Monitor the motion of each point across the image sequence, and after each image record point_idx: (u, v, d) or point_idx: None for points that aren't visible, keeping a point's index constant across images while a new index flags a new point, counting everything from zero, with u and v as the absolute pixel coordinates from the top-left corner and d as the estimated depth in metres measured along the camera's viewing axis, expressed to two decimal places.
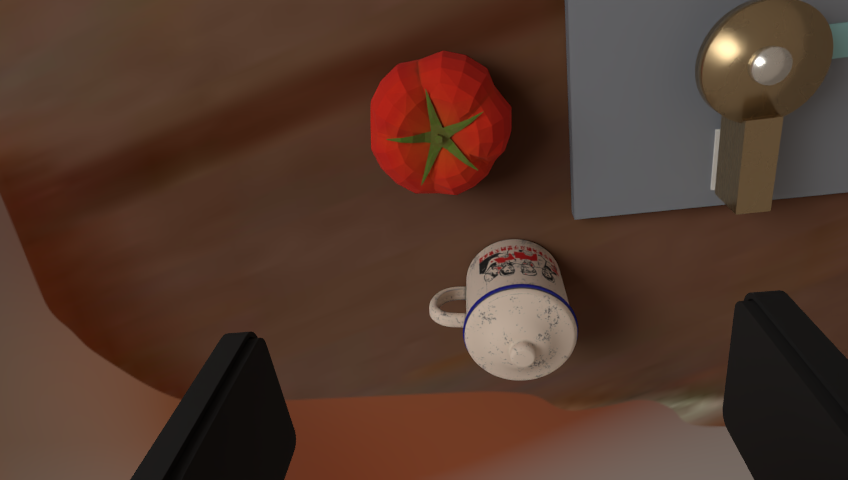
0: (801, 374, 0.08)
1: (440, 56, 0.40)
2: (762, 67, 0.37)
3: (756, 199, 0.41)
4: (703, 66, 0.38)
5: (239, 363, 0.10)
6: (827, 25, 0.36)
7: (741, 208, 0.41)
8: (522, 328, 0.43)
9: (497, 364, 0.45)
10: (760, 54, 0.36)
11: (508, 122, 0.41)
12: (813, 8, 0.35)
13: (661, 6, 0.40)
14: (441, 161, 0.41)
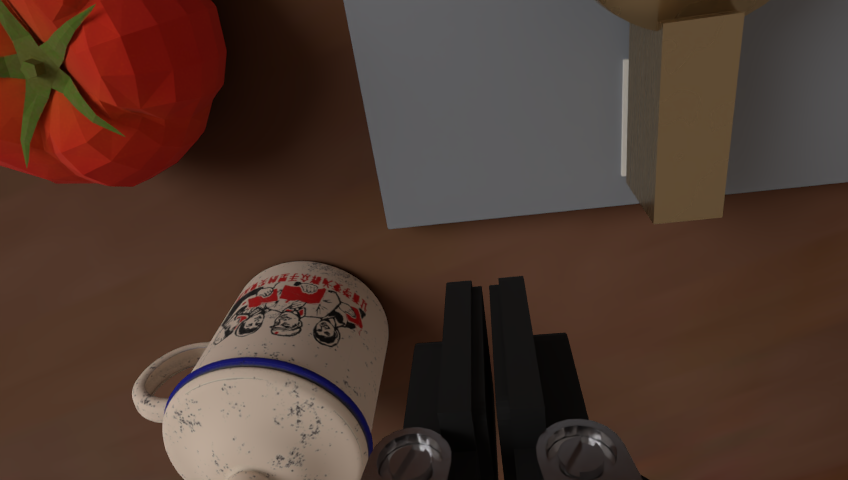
0: (496, 343, 0.10)
1: None
2: None
3: (693, 193, 0.20)
4: None
5: (476, 307, 0.11)
6: None
7: (663, 213, 0.21)
8: (243, 446, 0.22)
9: None
10: None
11: (185, 36, 0.20)
12: None
13: None
14: (54, 117, 0.20)
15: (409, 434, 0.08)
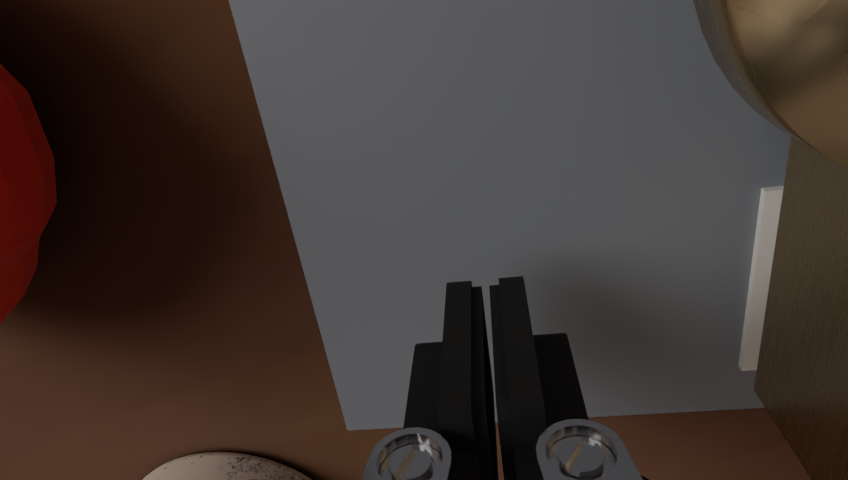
0: (496, 343, 0.10)
1: None
2: None
3: None
4: None
5: (476, 307, 0.11)
6: None
7: None
8: None
9: None
10: None
11: None
12: None
13: None
14: None
15: (409, 434, 0.08)
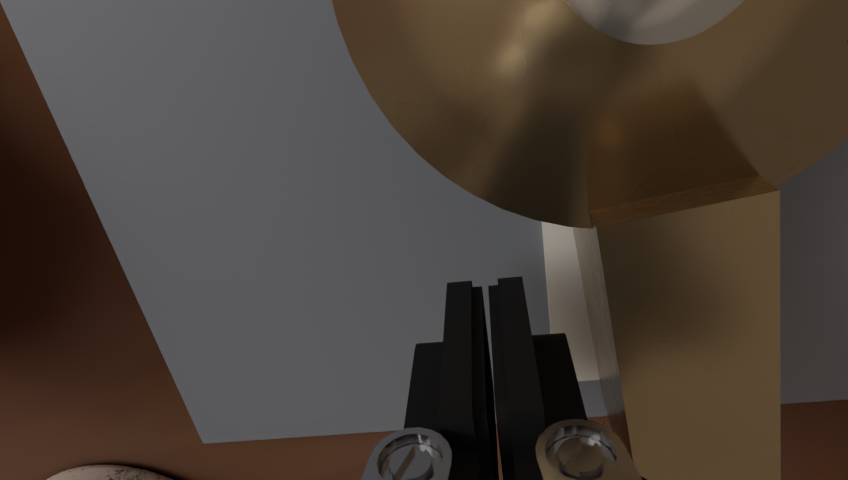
0: (495, 343, 0.10)
1: None
2: None
3: None
4: None
5: (476, 307, 0.11)
6: None
7: None
8: None
9: None
10: None
11: None
12: None
13: None
14: None
15: (410, 434, 0.08)
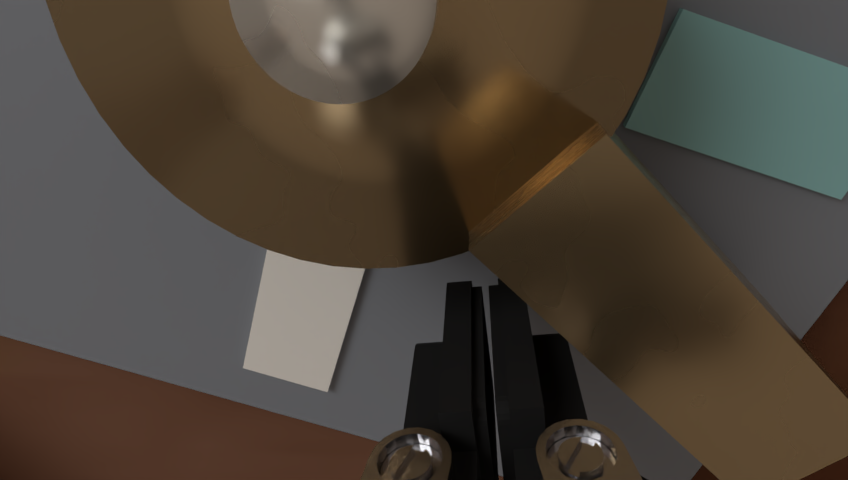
0: (495, 343, 0.10)
1: None
2: (297, 37, 0.07)
3: (784, 434, 0.09)
4: (160, 178, 0.09)
5: (476, 307, 0.11)
6: None
7: None
8: None
9: None
10: None
11: None
12: None
13: None
14: None
15: (409, 434, 0.08)
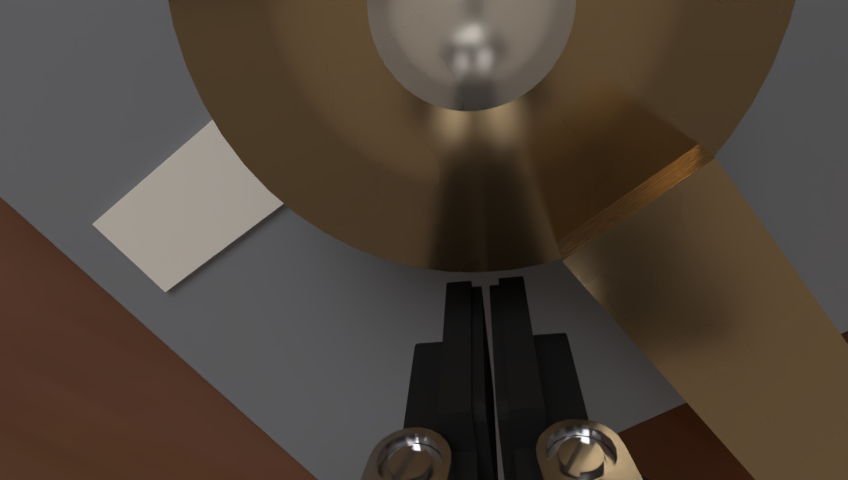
0: (496, 343, 0.10)
1: None
2: (429, 43, 0.07)
3: (839, 456, 0.09)
4: (253, 169, 0.09)
5: (476, 307, 0.11)
6: None
7: None
8: None
9: None
10: None
11: None
12: None
13: None
14: None
15: (409, 434, 0.08)
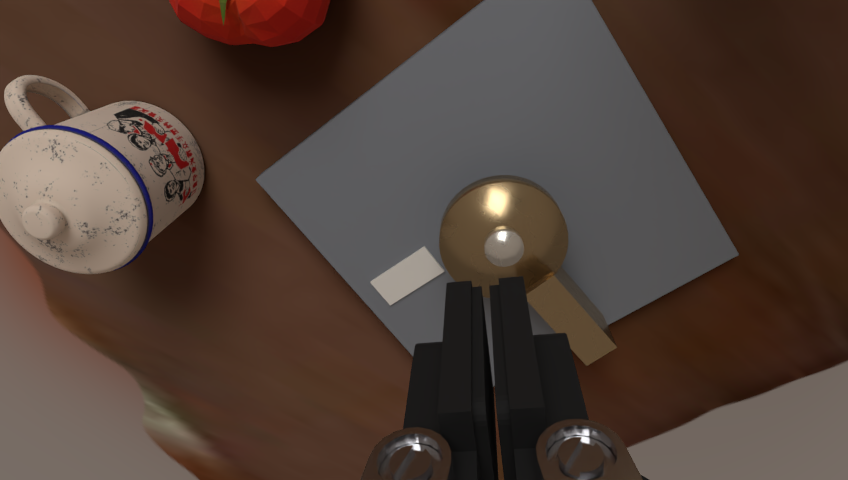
0: (496, 343, 0.10)
1: None
2: (496, 254, 0.35)
3: (594, 345, 0.37)
4: (450, 274, 0.36)
5: (476, 307, 0.11)
6: (529, 186, 0.34)
7: (587, 359, 0.38)
8: (75, 200, 0.30)
9: (9, 202, 0.31)
10: (484, 247, 0.35)
11: (302, 29, 0.31)
12: (502, 184, 0.34)
13: (502, 118, 0.36)
14: None
15: (409, 434, 0.08)
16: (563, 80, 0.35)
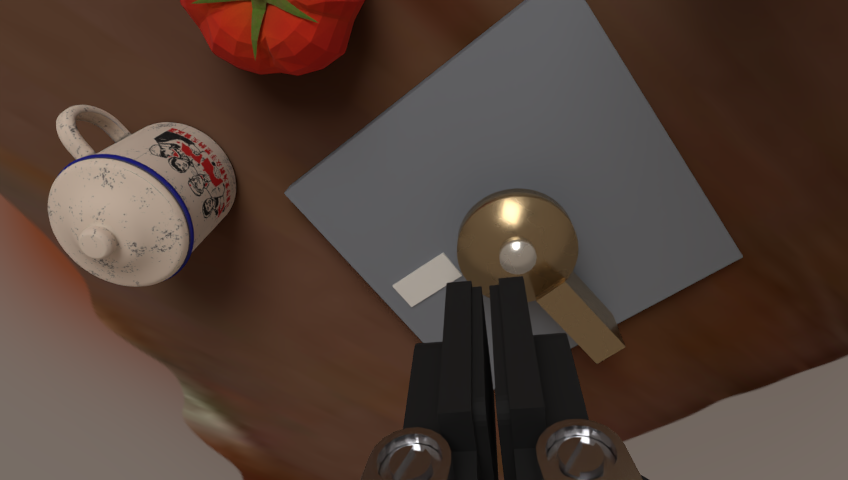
0: (496, 343, 0.10)
1: None
2: (510, 263, 0.37)
3: (603, 345, 0.40)
4: None
5: (476, 307, 0.11)
6: (541, 199, 0.36)
7: (597, 358, 0.40)
8: (125, 222, 0.33)
9: (65, 225, 0.35)
10: (499, 256, 0.37)
11: (326, 59, 0.33)
12: (515, 198, 0.36)
13: (515, 133, 0.38)
14: (235, 9, 0.31)
15: (409, 434, 0.08)
16: (572, 97, 0.37)
